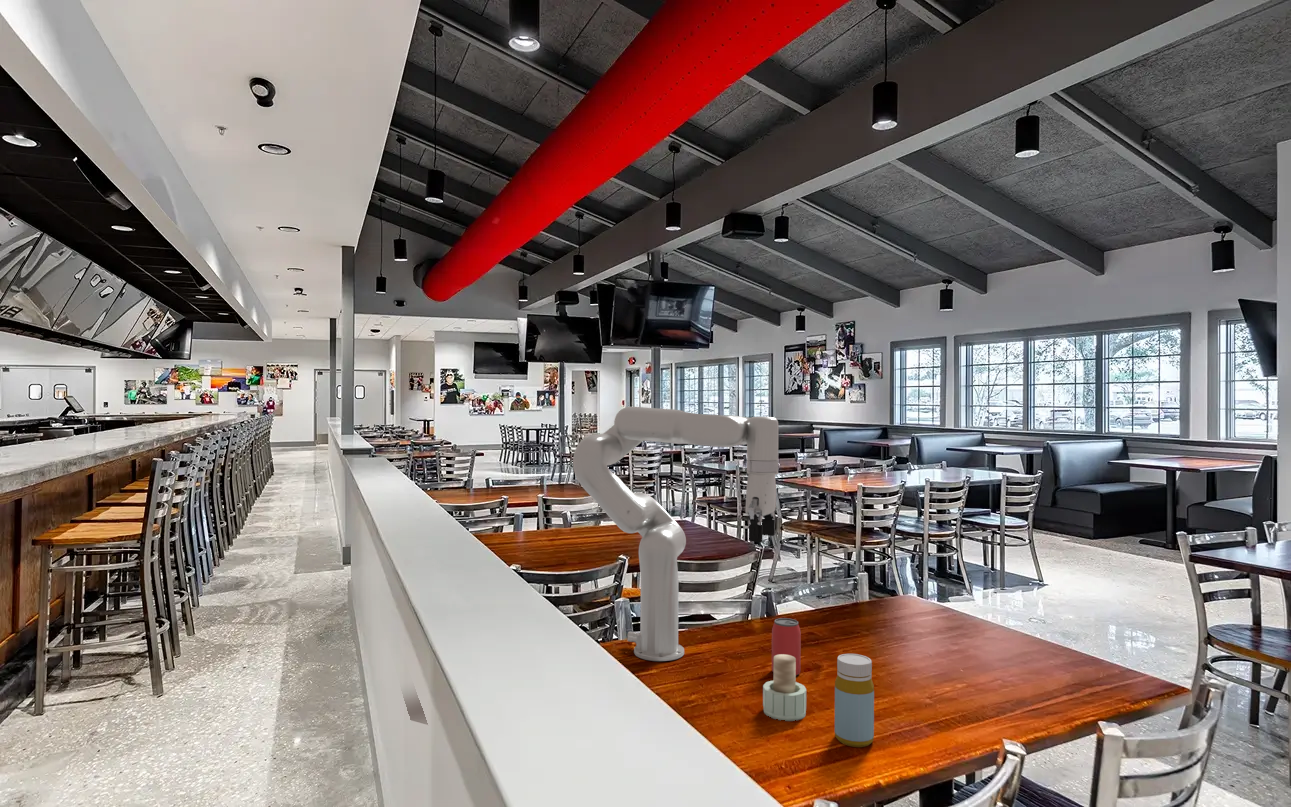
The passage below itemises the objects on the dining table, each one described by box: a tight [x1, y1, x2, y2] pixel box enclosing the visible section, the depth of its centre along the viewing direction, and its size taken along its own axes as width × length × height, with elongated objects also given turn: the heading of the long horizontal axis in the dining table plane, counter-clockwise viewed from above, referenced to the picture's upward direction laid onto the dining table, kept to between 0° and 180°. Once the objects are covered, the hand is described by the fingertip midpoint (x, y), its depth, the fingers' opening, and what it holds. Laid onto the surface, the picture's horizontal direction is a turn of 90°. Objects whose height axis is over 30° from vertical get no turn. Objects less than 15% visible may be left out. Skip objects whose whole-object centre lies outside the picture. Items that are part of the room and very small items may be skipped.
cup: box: [762, 680, 807, 722], centre depth 148 cm, size 8×8×5 cm
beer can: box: [771, 617, 802, 677], centre depth 170 cm, size 7×7×12 cm
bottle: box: [834, 653, 875, 748], centre depth 136 cm, size 7×7×15 cm
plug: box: [773, 654, 797, 693], centre depth 148 cm, size 4×4×10 cm
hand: (762, 538), depth 176 cm, fingers open, 9 cm apart
